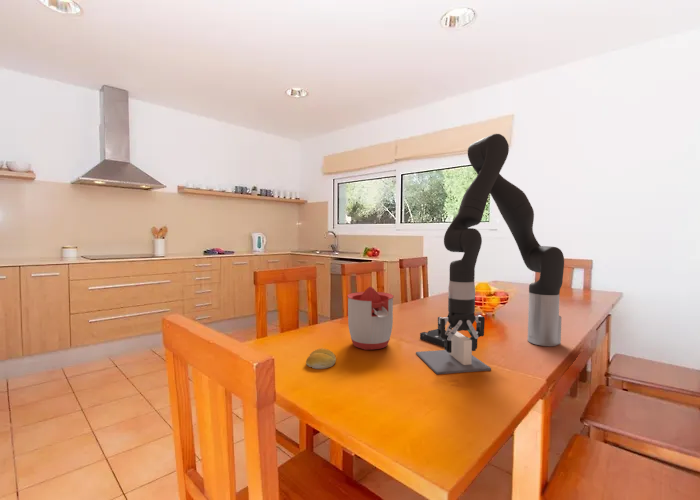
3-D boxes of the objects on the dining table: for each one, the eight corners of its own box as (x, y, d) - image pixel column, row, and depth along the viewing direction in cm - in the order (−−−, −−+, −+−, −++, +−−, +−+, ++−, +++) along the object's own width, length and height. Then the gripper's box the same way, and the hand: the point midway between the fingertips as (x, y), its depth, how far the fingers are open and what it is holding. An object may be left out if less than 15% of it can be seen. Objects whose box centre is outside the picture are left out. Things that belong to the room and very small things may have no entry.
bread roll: (303, 369, 98) (303, 355, 98) (312, 357, 107) (312, 345, 107) (331, 371, 97) (331, 357, 97) (338, 359, 106) (338, 346, 106)
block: (457, 353, 108) (457, 331, 108) (471, 364, 99) (472, 340, 99) (449, 354, 108) (449, 331, 108) (463, 365, 99) (463, 340, 99)
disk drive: (419, 340, 125) (452, 351, 113) (419, 332, 125) (452, 343, 113) (438, 335, 131) (472, 345, 119) (438, 328, 131) (472, 337, 119)
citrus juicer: (360, 357, 107) (360, 292, 106) (340, 340, 123) (340, 284, 122) (404, 350, 113) (405, 289, 112) (380, 335, 129) (380, 282, 128)
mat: (463, 350, 113) (463, 348, 113) (491, 370, 97) (491, 368, 97) (415, 353, 110) (415, 351, 110) (436, 374, 94) (436, 372, 94)
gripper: (477, 293, 108) (476, 345, 109) (433, 294, 105) (432, 348, 106) (491, 297, 100) (490, 354, 101) (444, 299, 98) (443, 357, 99)
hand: (460, 351), depth 104 cm, fingers open, 7 cm apart
